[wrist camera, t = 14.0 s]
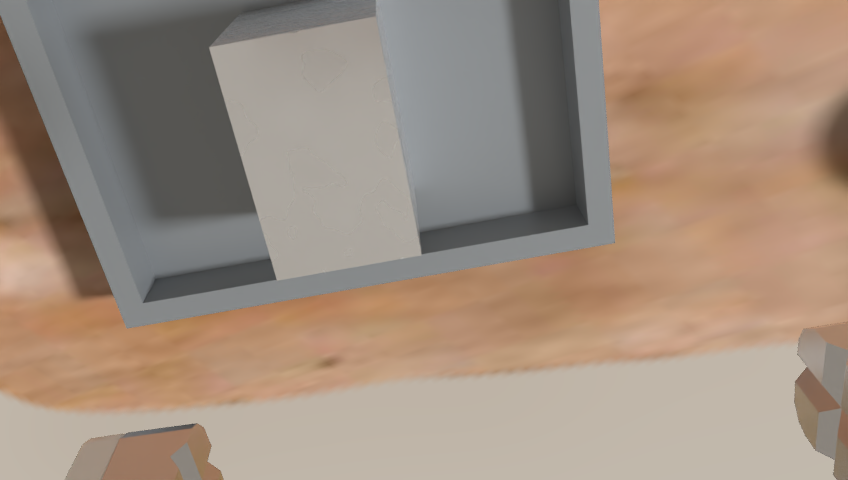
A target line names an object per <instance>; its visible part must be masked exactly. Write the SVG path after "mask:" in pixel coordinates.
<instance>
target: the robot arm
mask: <svg viewBox="0 0 848 480" xmlns="http://www.w3.org/2000/svg"><path fill="white" fill-rule="evenodd" d="M797 355H798V356H799V357H800V358H801V359H802V361H803V362H804V363H805V365H806V366H807V368H806V369H805V370H804V371H803V372H802V374H801V375H800V376H799V377H798V379H797V380H796V381H795V398H794V402H795V407H796V411H797V416H798V420H799V423H800V425H801V427H802V429H803V432H804V434H805V436H806V437H807V439H808V440H809V442H810V443H811V445H812V446H813V448H814V449H815V450H816V451H818V452H820V453H822V454H824V455H826V456H828V457H830V458H832V459H834V460H835V463H834V472H833V475H834V477H835V478H836V479H837V480H848V322H843V323H836V324H830V325H824V326H818V327H812V328H805V329H803V331H802V333H801V335H800V337H799V343H798V354H797ZM210 449H211V444H210V442H209V439H208V436H207V434H206V432H205V429H204V427H202V426H201V425H199V424H189V425H182V426H174V427H167V428H159V429H152V430H144V431H137V432H129V433H126V434H117V435H110V436H104V437H97V438H91V439H90V440H88V441H87V442H85V443H84V444H83V445H82V446H81V448H80V450H79V452H78V454H77V456H76V458H75V460H74V462H73V464H72V467H71V468H70V470H69V472H68V474H67V476H66V478H65V480H223V476H222V474H221V471H220V470H219V469H217V468H216V467H214V466H213V465H211V464H210V463H208V462H207V460H208V457H209V453H210Z"/></svg>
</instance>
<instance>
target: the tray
mask: <svg viewBox="0 0 848 480" xmlns="http://www.w3.org/2000/svg"><path fill="white" fill-rule="evenodd" d="M299 1H304V0H0V16H1V18H2V21H3V23H4V26H5V28H6V31H7V33H8V36H9V38H10V41H11V43H12V46H13V48H14V51H15V53H16V55H17V58H18V60H19V63H20V65H21V68H22V70H23V73H24V75H25V78H26V80H27V83H28V85H29V88H30V90H31V93H32V95H33V98H34V100H35V103H36V105H37V107H38V110H39V112H40V115H41V117H42V120H43V122H44V125H45V127H46V130H47V132H48V135H49V137H50V140H51V142H52V145H53V147H54V150H55V152H56V154H57V157H58V159H59V162H60V164H61V167H62V169H63V172H64V174H65V177H66V179H67V182H68V184H69V187H70V189H71V192H72V194H73V197H74V199H75V201H76V204H77V206H78V209H79V211H80V214H81V216H82V219H83V221H84V224H85V226H86V229H87V231H88V234H89V236H90V239H91V241H92V244H93V246H94V249H95V251H96V253H97V256H98V258H99V261H100V263H101V266H102V268H103V271H104V273H105V276H106V278H107V281H108V283H109V286H110V288H111V291H112V293H113V296H114V298H115V300H116V303H117V305H118V308H119V310H120V313H121V315H122V318H123V320H124V323H125V325H126V328H132V327H138V326H144V325H149V324H155V323H161V322H167V321H172V320H178V319H184V318H189V317H195V316H201V315H207V314H212V313H218V312H224V311H229V310H235V309H241V308H247V307H252V306H258V305H264V304H269V303H275V302H281V301H287V300H292V299H298V298H304V297H309V296H315V295H321V294H326V293H332V292H338V291H344V290H349V289H355V288H361V287H366V286H372V285H378V284H384V283H389V282H395V281H401V280H406V279H412V278H418V277H424V276H429V275H435V274H441V273H446V272H452V271H458V270H464V269H469V268H475V267H481V266H486V265H492V264H498V263H504V262H509V261H515V260H521V259H526V258H532V257H538V256H543V255H549V254H555V253H561V252H566V251H572V250H578V249H583V248H589V247H595V246H601V245H606V244H612V243H615V234H614V220H613V205H612V190H611V176H610V161H609V146H608V131H607V117H606V102H605V87H604V72H603V58H602V43H601V28H600V13H599V0H379V4H380V9H381V14H382V19H383V25H384V30H385V35H386V40H387V46H388V51H389V56H390V62H391V67H392V72H393V77H394V83H395V88H396V93H397V98H398V104H399V109H400V114H401V120H402V125H403V130H404V135H405V141H406V146H407V151H408V156H409V162H410V167H411V172H412V178H413V183H414V188H415V197H416V206H417V216H418V225H419V234H420V243H421V252H422V255H421V256H415V257H409V258H404V259H398V260H392V261H387V262H381V263H375V264H370V265H364V266H358V267H352V268H347V269H341V270H335V271H330V272H324V273H318V274H313V275H307V276H301V277H295V278H290V279H284V280H278V281H277V279H276V275H275V272H274V269H273V265H272V262H271V258H270V255H269V251H268V248H267V245H266V241H265V238H264V234H263V231H262V227H261V224H260V221H259V217H258V214H257V210H256V207H255V203H254V200H253V197H252V193H251V190H250V186H249V183H248V180H247V176H246V173H245V169H244V166H243V162H242V159H241V156H240V152H239V149H238V145H237V142H236V138H235V135H234V132H233V128H232V125H231V121H230V118H229V114H228V111H227V108H226V104H225V101H224V97H223V94H222V90H221V87H220V84H219V80H218V77H217V73H216V70H215V66H214V63H213V60H212V56H211V53H210V49H209V47H210V46H211V45H212V43H213V42H214V41H215V40H216V39H217V38H218V37H219V36H220V35H221V34H222V33H223V32H224V30H225V29H226V28H227V27H228V26H229V25H230V24H231V23H232V22H233V21H234V20H235V19H236V17H237V16H238V15H239V14H240V13H241V12H245V11H250V10H256V9H261V8H266V7H272V6H277V5H283V4H288V3H293V2H299Z"/></svg>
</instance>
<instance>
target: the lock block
mask: <svg viewBox="0 0 848 480" xmlns="http://www.w3.org/2000/svg"><path fill="white" fill-rule="evenodd" d="M209 49H210V53H211V56H212V60H213V63H214V66H215V70H216V73H217V77H218V80H219V84H220V87H221V90H222V94H223V97H224V101H225V104H226V108H227V111H228V114H229V118H230V121H231V125H232V128H233V132H234V135H235V138H236V142H237V145H238V149H239V152H240V156H241V159H242V162H243V166H244V169H245V173H246V176H247V180H248V183H249V186H250V190H251V193H252V197H253V200H254V203H255V207H256V210H257V214H258V217H259V221H260V224H261V227H262V231H263V234H264V238H265V241H266V245H267V248H268V251H269V255H270V258H271V262H272V265H273V269H274V272H275V275H276V279H277V281H278V280H284V279H290V278H295V277H301V276H307V275H313V274H318V273H324V272H330V271H335V270H341V269H347V268H352V267H358V266H364V265H370V264H375V263H381V262H387V261H392V260H398V259H404V258H409V257H415V256H421V255H422V252H421V243H420V234H419V225H418V216H417V206H416V197H415V188H414V183H413V178H412V172H411V167H410V162H409V156H408V151H407V146H406V141H405V135H404V130H403V125H402V120H401V114H400V109H399V104H398V98H397V93H396V88H395V83H394V77H393V72H392V67H391V62H390V56H389V51H388V46H387V40H386V35H385V30H384V25H383V19H382V14H381V9H380V4H379V0H304V1H299V2H293V3H288V4H283V5H277V6H272V7H266V8H261V9H256V10H250V11H245V12H241V13H240V14H239V15H238V16H237V17H236V19H235V20H234V21H233V22H232V23H231V24H230V25H229V26H228V27H227V28H226V29H225V30H224V32H223V33H222V34H221V35H220V36H219V37H218V38H217V39H216V40H215V41H214V42H213V43H212V45H211V46H210V47H209Z"/></svg>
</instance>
